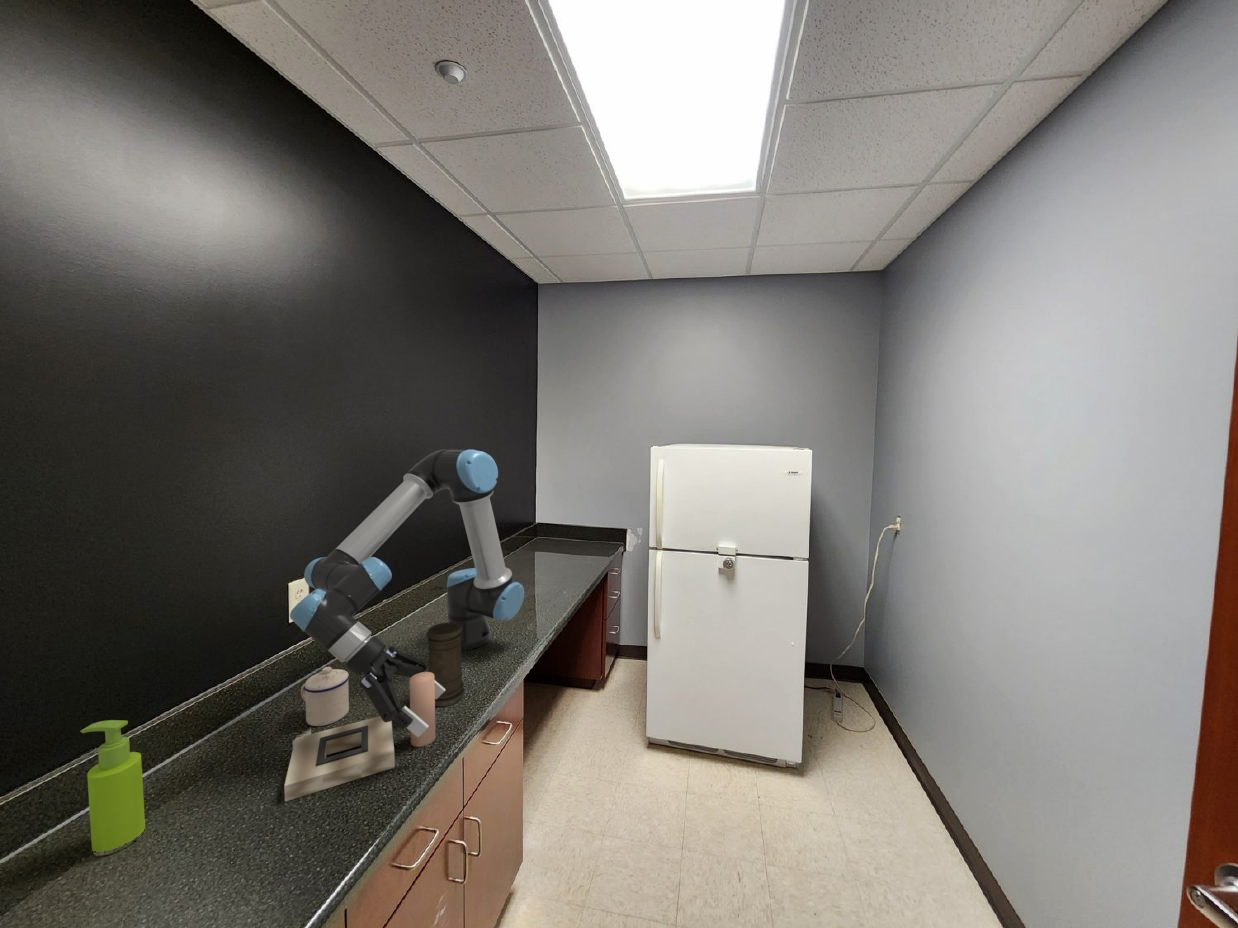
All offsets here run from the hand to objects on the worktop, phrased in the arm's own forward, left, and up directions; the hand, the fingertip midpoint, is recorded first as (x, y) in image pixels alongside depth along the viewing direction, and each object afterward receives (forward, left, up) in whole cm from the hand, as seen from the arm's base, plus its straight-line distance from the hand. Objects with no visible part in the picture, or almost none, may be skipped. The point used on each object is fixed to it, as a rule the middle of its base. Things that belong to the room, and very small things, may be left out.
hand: (433, 711), depth 100 cm
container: (-5, -16, -6) cm, 18 cm away
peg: (+2, -1, -6) cm, 7 cm away
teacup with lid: (+22, -22, -6) cm, 32 cm away
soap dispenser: (+49, +2, -6) cm, 49 cm away
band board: (+17, -2, -6) cm, 18 cm away
